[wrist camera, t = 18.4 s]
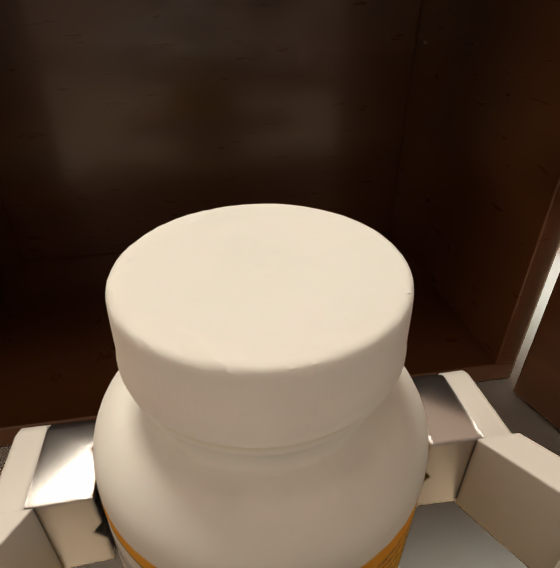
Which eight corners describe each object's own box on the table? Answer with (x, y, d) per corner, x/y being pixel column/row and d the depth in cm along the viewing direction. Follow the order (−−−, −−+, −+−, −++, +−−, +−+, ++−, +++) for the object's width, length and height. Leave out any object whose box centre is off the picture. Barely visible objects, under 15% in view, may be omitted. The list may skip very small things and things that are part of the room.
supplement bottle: (115, 721, 10) (-88, 388, 4) (194, 485, 14) (141, 178, 9) (382, 777, 9) (531, 463, 4) (376, 511, 13) (440, 194, 8)
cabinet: (510, 378, 21) (690, -101, 12) (-91, 459, 18) (-506, -130, 8) (395, 235, 33) (442, -66, 23) (16, 268, 29) (-110, -72, 20)
